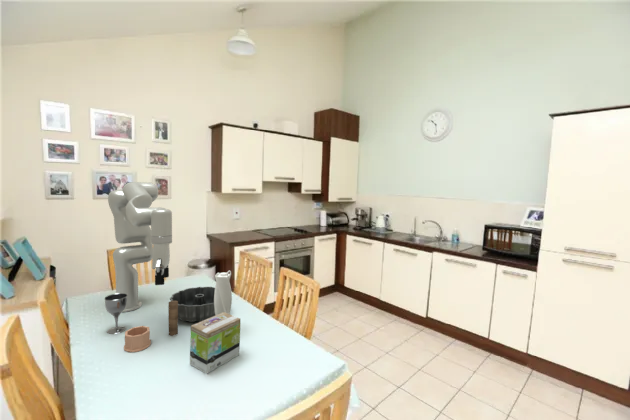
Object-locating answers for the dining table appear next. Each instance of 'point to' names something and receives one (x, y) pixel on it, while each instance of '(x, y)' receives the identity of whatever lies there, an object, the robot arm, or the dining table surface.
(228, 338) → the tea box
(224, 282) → the skyscraper
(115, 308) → the wine glass
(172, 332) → the brown wooden dowel
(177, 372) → the dining table surface
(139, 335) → the octagonal terracotta pot
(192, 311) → the bundt pan
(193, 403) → the dining table surface
